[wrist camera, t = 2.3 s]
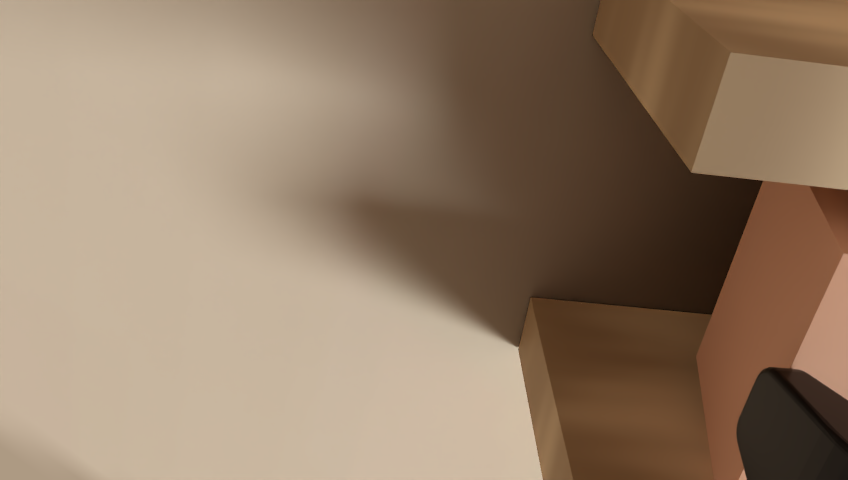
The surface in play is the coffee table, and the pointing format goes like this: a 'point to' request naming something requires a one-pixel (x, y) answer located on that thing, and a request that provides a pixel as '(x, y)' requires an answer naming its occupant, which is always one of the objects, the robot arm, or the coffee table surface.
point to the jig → (702, 153)
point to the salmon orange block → (777, 308)
